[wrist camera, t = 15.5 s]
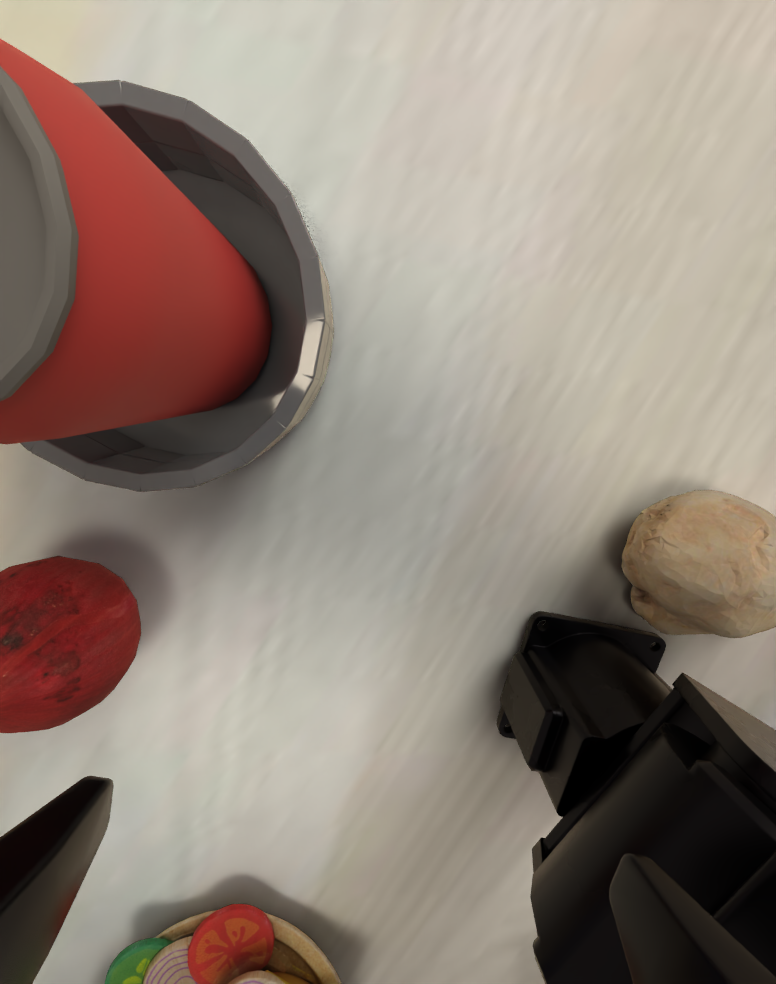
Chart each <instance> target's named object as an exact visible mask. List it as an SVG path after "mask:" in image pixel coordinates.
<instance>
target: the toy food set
mask: <svg viewBox="0 0 776 984" xmlns="http://www.w3.org/2000/svg"><path fill="white" fill-rule="evenodd" d="M105 984H342V983H341V981H340V979H339V977H338V975H337V973H336V971H335V969H334V967H333V966H332V964H331V963H330V961H329V960H328V958H327V957H326V956H325V954H324V953H323V952H322V950H321V949H320V948H319V947H318V946H317V945H316V944H315V943H314V942H313V941H312V939H311V938H309V937H308V936H307V935H306V934H305V933H303V932H302V931H301V930H299V929H298V928H297V927H295V926H294V925H292V924H290V923H289V922H287V921H285V920H283V919H280V918H278V917H276V916H274V915H270V914H267V913H264V912H263V911H262V910H260V909H259V908H257V907H254V906H251V905H246V904H231V905H228V906H226V907H223V908H221V909H219V910H214V911H209V912H205V913H201V914H198V915H195V916H192V917H189V918H187V919H185V920H183V921H181V922H178V923H177V924H175V925H173V926H171V927H169V928H168V929H166V930H165V931H163V932H162V933H160V934H159V935H158V936H156V937H155V938H148V939H144V940H140V941H137V942H135V943H133V944H131V945H130V946H128V947H127V948H125V949H124V950H123V951H122V952H120V953H119V954H118V956H117V957H116V958H115V959H114V961H113V962H112V964H111V966H110V968H109V970H108V973H107V976H106V980H105Z"/></svg>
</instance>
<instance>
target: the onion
mask: <svg viewBox="0 0 776 984" xmlns="http://www.w3.org/2000/svg"><path fill="white" fill-rule="evenodd" d="M140 636H141V623H140V617H139V611H138V606H137V600H136V599H135V597H134V596H133V594H132V593H131V591H130V590H129V588H128V587H127V585H126V583H125V582H124V580H123V579H122V578H121V577H119V576H117V575H116V574H114V573H113V572H111V571H110V570H108V569H107V568H105V567H104V566H102V565H101V564H99V563H94V562H88V561H83V560H78V559H72V558H67V557H62V556H55V557H51V558H46V559H42V560H37V561H33V562H28V563H24V564H19V565H15V566H11V567H8V568H6V569H5V570H3V571H1V572H0V733H17V732H29V731H39V730H45V729H50V728H53V727H56V726H59V725H62V724H64V723H66V722H68V721H70V720H72V719H73V718H75V717H77V716H79V715H80V714H82V713H84V712H86V711H87V710H89V709H91V708H92V707H94V706H95V705H97V704H99V703H100V702H101V701H102V700H103V699H105V698H106V697H107V696H108V695H109V694H110V693H111V692H112V691H113V690H114V689H115V687H116V686H117V684H118V683H119V682H120V680H121V679H122V677H123V676H124V675H125V673H126V672H127V671H128V669H129V667H130V665H131V663H132V662H133V660H134V658H135V656H136V652H137V648H138V644H139V640H140Z"/></svg>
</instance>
